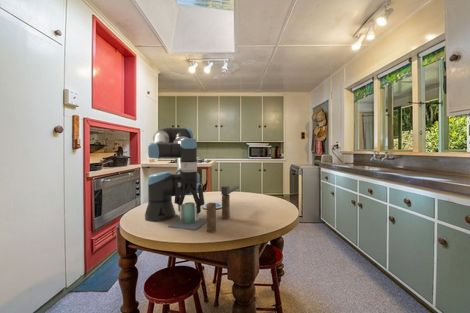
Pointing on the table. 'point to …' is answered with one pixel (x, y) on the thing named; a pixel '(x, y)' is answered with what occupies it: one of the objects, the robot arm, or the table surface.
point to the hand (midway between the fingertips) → (189, 219)
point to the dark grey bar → (227, 190)
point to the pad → (193, 226)
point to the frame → (212, 213)
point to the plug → (189, 213)
